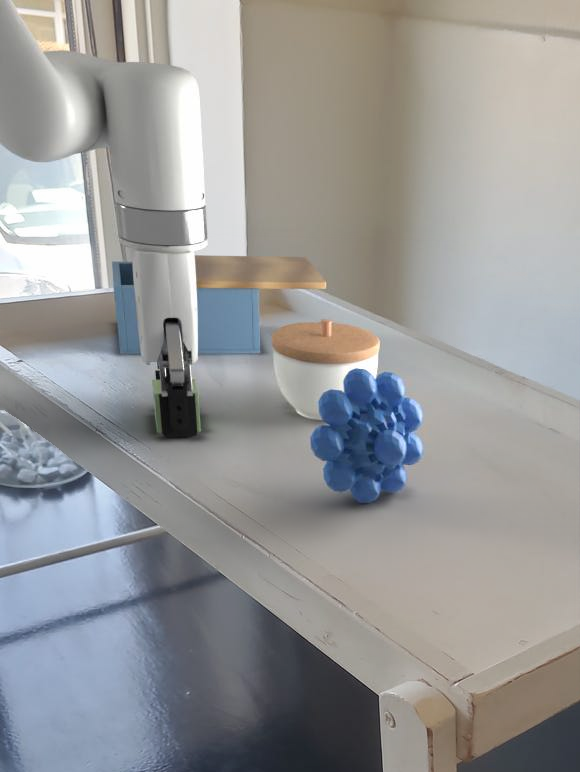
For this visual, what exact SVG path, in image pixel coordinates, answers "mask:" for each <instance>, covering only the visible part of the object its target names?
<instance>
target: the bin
mask: <svg viewBox="0 0 580 772" xmlns="http://www.w3.org/2000/svg"><path fill="white" fill-rule="evenodd" d="M111 271H112V287H113V296H114V304H115V305H114V306H115V314H116V323H117V333H118V342H119V343H118V344H119V351H120V352H119V353H120V355H141V350H140V341H139V332H138V322H137V312H136V302H135V291H134V280H133V263H132V261H111ZM197 312H198V355H199V354H201V355H205V354H206V355H207V354H208V355H209V354H212V355H213V354H214V355H215V354H219V355H220V354H261V336H260V335H261V334H260V333H261V331H260V301H259V289H242V288H197Z"/></svg>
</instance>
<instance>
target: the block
mask: <svg viewBox="0 0 580 772" xmlns="http://www.w3.org/2000/svg"><path fill="white" fill-rule="evenodd" d="M191 379H192V390H193V393H195V402H196V417H197V433H200V432H201V431H202V429H201V414H200V413H201V412H200V399H199V391H198V387H197V382H196V379H194V378H191ZM151 385H152V387H151V388H152V397H153V408H154V418H155V427H156V433H157V434H162V427H161V415H160V403H159V394H162V392H161V382H160V380H156V379H152V380H151Z"/></svg>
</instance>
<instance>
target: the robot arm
mask: <svg viewBox="0 0 580 772" xmlns="http://www.w3.org/2000/svg"><path fill="white" fill-rule="evenodd" d="M0 145H1V146H2V147H3V148H4V149H6V150H7V151H8V152H10V153H11V154H13V155H15V156H17V157H19V158H21V159H23V160H26V161H30V162H35V163H51V162H55V161H59V160H63V159H66V158H68V157H72V156H73V155H77V154H82V153H87V152H90V151H93V150H100V149H109V156H110V165H111V176H112V184H113V185H112V186H113V195H114V205H115V216H116V226H117V236H118V243H119V244H120V245H122V246H124V247H125V248H129V249H131V253H132V254H131V258H132V259H131V260H132V261H131V262H132V263H133V280H134V291H135V302H136V312H137V322H138V332H139V341H140V350H141V354H140V356H141V361H142V362H143V363H144V364H145V365H146V366H151V363H156V368H157V370H156V369H155V370H154V373H155V375H154V376H155V380H160V382H161V392H162V394H159V403H160V415H161V427H162V433H161V434H162V436H163V437H166V438H172V437H173V438H175V437H195V436H197V435H198V432H197V417H196V402H195V393H193V390H192V379H193V378H192V369H191V365H194V364H195V363H196V362H197V361H198V359H199V358H198V355H199V354H198V312H197V288H196V269H195V255H196V254H195V253H196V252H195V251H200V250H202V249H205V248H206V247H208V245H209V242H208V225H207V224H208V223H207V205H206V192H205V191H206V188H205V172H204V171H205V170H204V151H203V150H204V149H203V135H202V115H201V99H200V89H199V84H198V81H197V79H196V77H195V76H194V75H193V74H192V73H191V72H190V71H189V70H188V69H185V68H183V67H180V66H176V65H171V64H164V63H157V62H144V61H143V62H141V61H122V62H121V61H120V62H119V61H114V60H110V59H106V58H102V57H98V56H96V55H91V54H87V53H83V52H79V51H75V50H74V51H73V50H63V49H62V50H60V49H59V50H47V51H43V50H42V48H41V46H40V44H39V43H38V41H37V40H36V38H35V37H34V35H33V34H32V32H31V31H30V29H29V27H28V25H27V24H26V22H25V21H24V19H23V18H22V16H21V14H20V13H19V11H18V8H17V7H16V6H15V3H14V1H13V0H0Z"/></svg>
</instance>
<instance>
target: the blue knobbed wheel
mask: <svg viewBox="0 0 580 772" xmlns="http://www.w3.org/2000/svg"><path fill="white" fill-rule="evenodd" d="M343 383H344V392H342V391H341V390H333V389H330V390H328V391H326V392H324V393H323V394H322V396H321V397H320V399H319V401H318V406H319V414H320V416H321V418H322V420H321V421H322V422H324V423H325V424H322V425H320V426H316V427H315V428H314V430H313V431H312V432H311V435H310V437H309V439H310V441H309V442H310V449H311V451H312V452H313V453H312V454H313V455H314V456H315V457H316V458H318V460H321V461H323V462H325V464H324V465H323V468H322V472H323V481H324V483H325V484H326V486H327V487H328V488H329V489H331V490H333V492H340V493H344V492H347V491H349V493H350V494H351V496H352V499H354V500H355V501H356V502H358V503H360V504H370V503H372V502H373V503H374V502H375V501H376V500H378V499H379V497H380V496H381V492H382V490H383V491H384V492H386V493H392V494H394V493H398V492H400V491H402V490H403V489H404V488H405V487H406V485H407V481H408V472H407V470H406V467H405V466H413V465H415V464H417V463H419V462H420V460H422V458H423V455H424V454H423V453H424V444H423V441H422V440H421V438H420V436H418V435H417V434H416V433H414V432H415V431H417V430H419V429H420V427H421V426H422V424H423V422H424V421H423V420H424V413H423V409H422V407H421V405H420V403H419V402H418V401H417V400H415V399H414V398H411V397H406V385H405V383H404V382H403V380H402V378H401V377H400V376H398V375H397V373H395V372H387V371H383V372H382V373H379V374H378V375H376V379H375V378H374V376H373V374H371V373H370V372H369V371H367V370H366V369H359V368H355V369H353V370H351V371H349V372H348V373H347V375H346V376H345V378H344V380H343Z"/></svg>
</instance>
